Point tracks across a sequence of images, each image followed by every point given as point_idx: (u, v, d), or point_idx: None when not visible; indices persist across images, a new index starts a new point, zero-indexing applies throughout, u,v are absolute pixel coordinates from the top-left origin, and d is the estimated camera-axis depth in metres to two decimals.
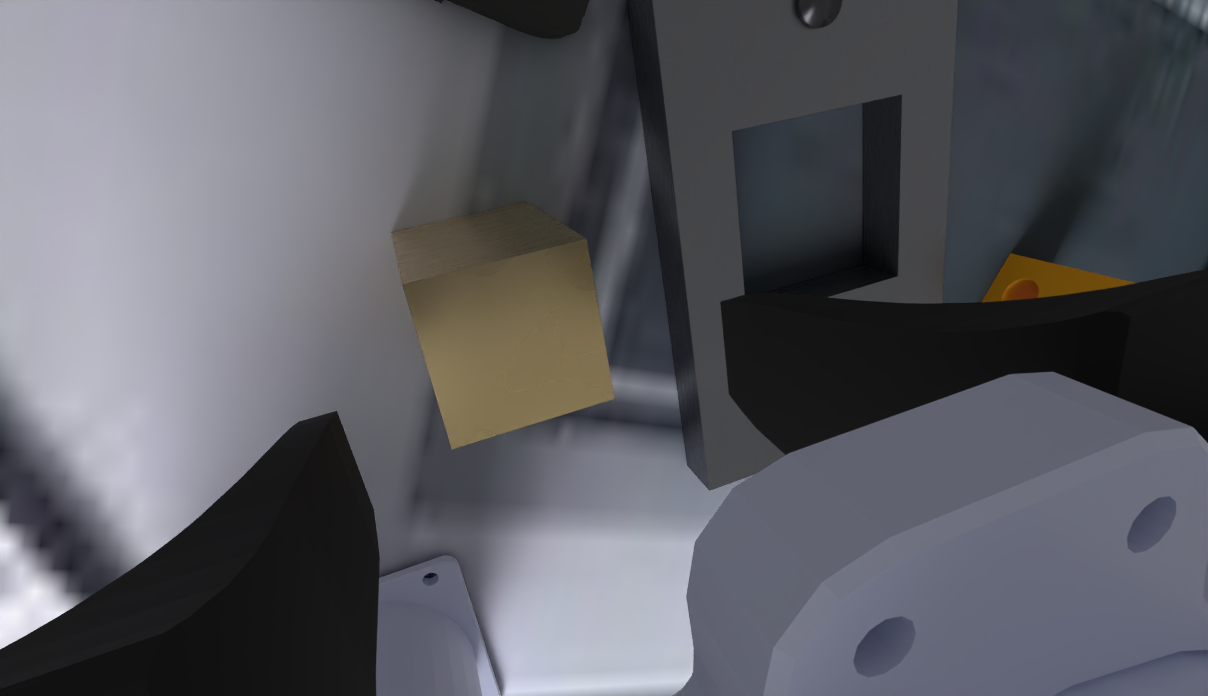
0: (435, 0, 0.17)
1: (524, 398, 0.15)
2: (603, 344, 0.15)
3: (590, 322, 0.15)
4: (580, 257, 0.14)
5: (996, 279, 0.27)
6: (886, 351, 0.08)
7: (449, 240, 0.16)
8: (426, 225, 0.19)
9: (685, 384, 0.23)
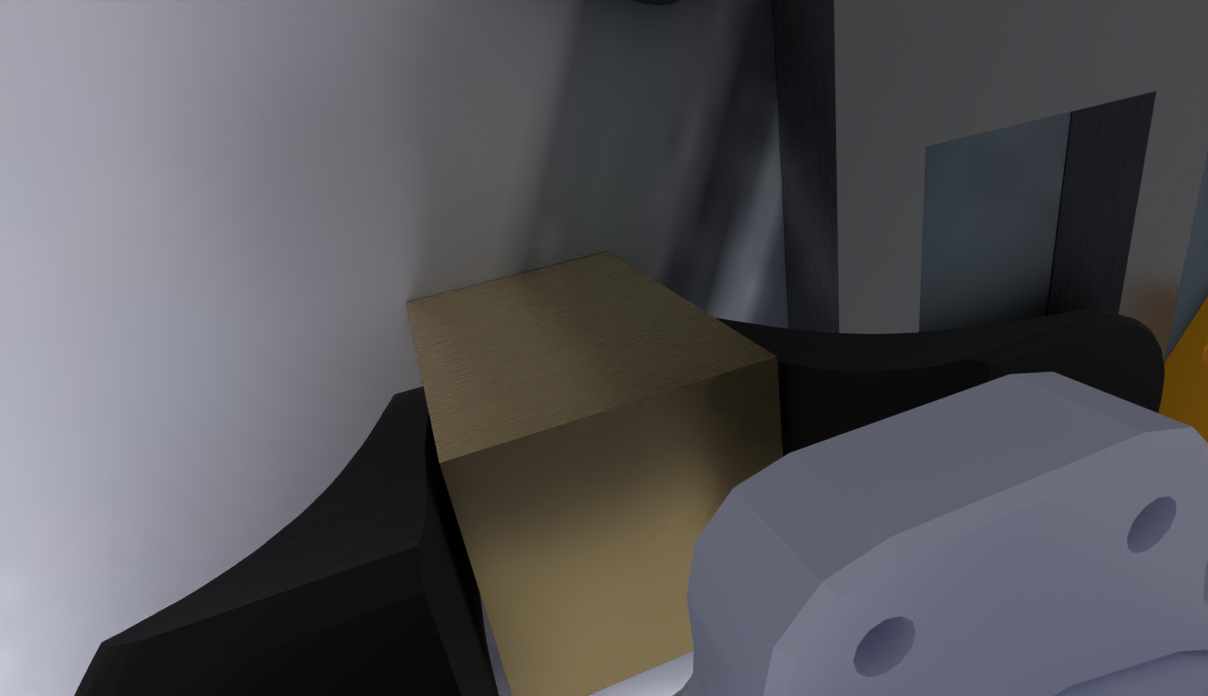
0: None
1: (647, 627, 0.08)
2: None
3: None
4: (764, 389, 0.08)
5: (1190, 329, 0.20)
6: (783, 385, 0.08)
7: (506, 333, 0.10)
8: (460, 292, 0.12)
9: None
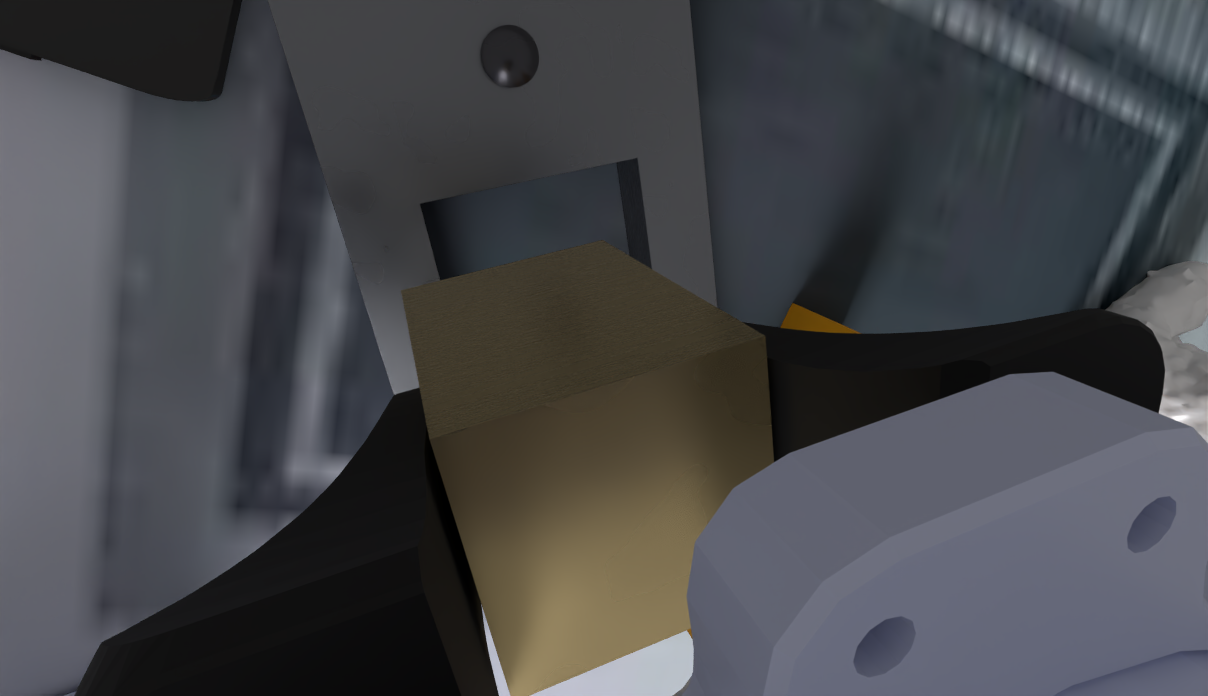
0: None
1: (638, 606, 0.09)
2: None
3: None
4: (753, 368, 0.08)
5: None
6: (783, 385, 0.08)
7: (499, 317, 0.10)
8: (454, 279, 0.12)
9: None
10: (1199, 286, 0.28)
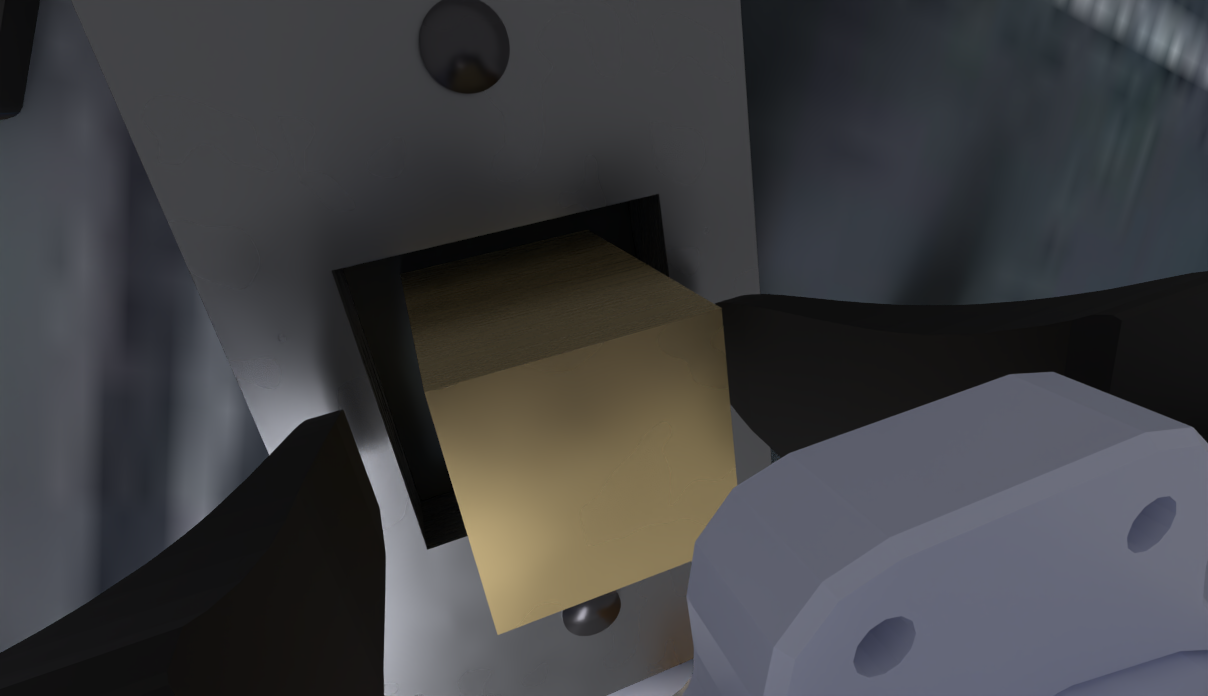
0: None
1: (611, 552, 0.10)
2: (731, 463, 0.10)
3: (716, 434, 0.10)
4: (710, 336, 0.09)
5: None
6: (879, 354, 0.08)
7: (489, 295, 0.11)
8: (449, 264, 0.13)
9: None
10: None
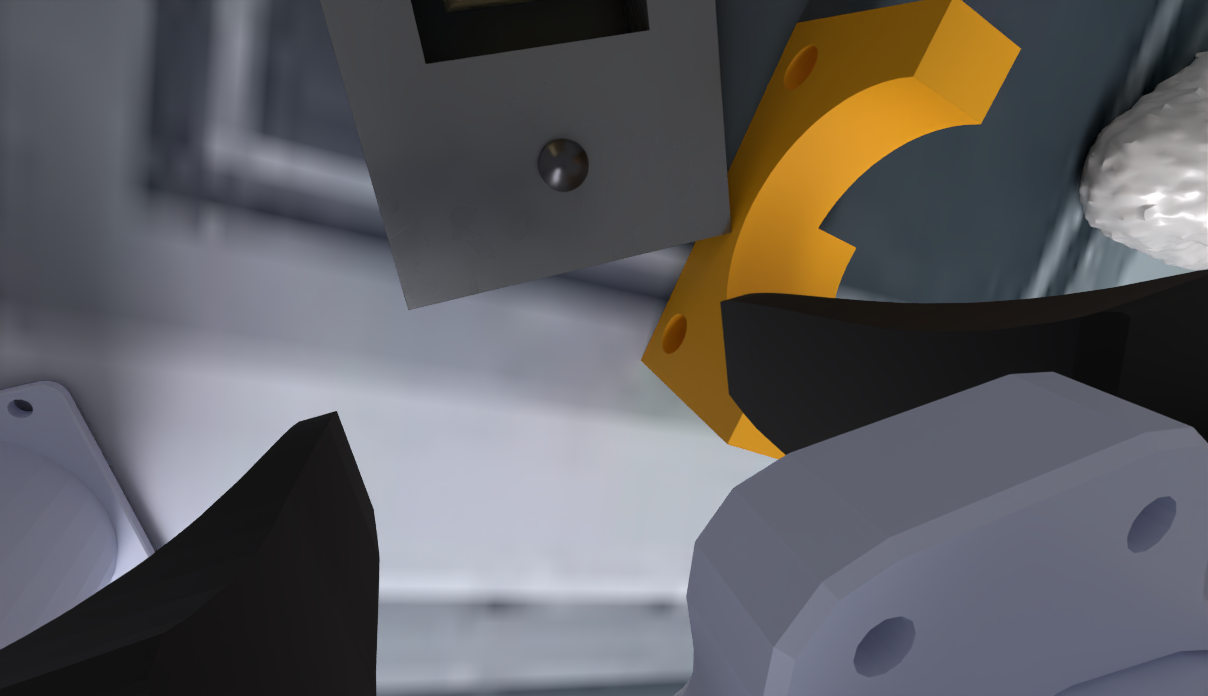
0: None
1: None
2: None
3: None
4: None
5: (781, 58, 0.21)
6: (885, 352, 0.08)
7: None
8: None
9: None
10: None
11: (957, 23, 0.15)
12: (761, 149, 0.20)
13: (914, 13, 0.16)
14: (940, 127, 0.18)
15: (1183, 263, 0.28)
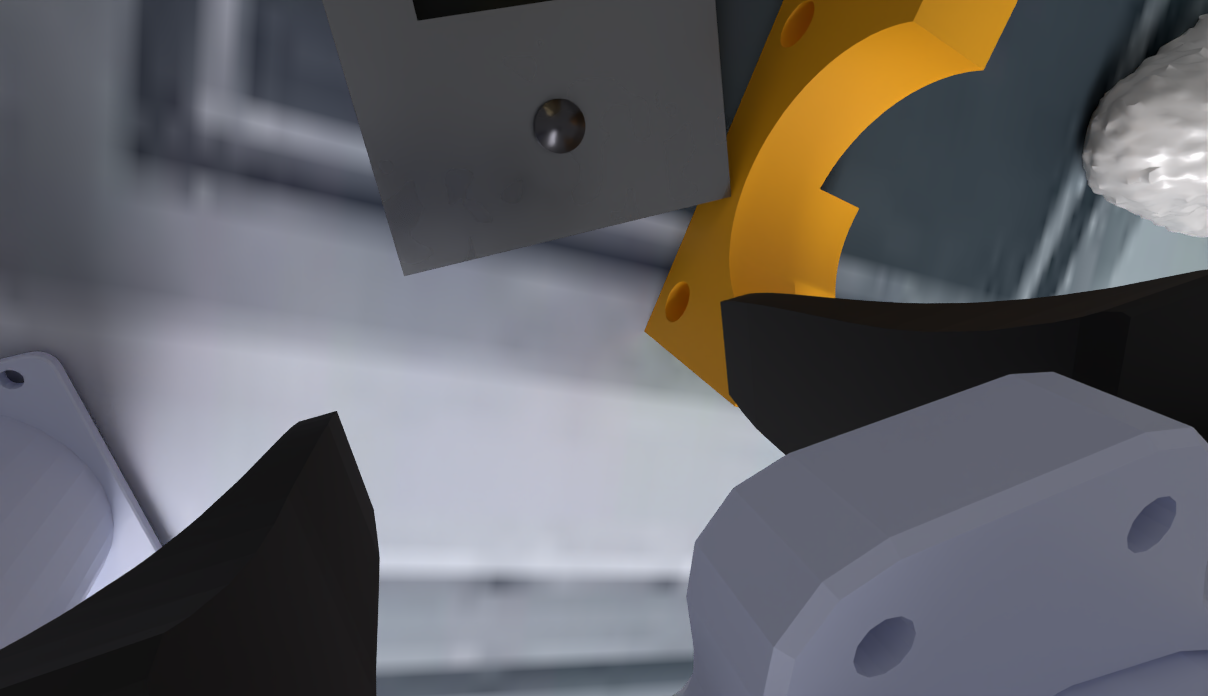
0: None
1: None
2: None
3: None
4: None
5: (777, 17, 0.20)
6: (885, 352, 0.08)
7: None
8: None
9: None
10: None
11: None
12: (759, 110, 0.20)
13: None
14: (941, 76, 0.17)
15: (1188, 230, 0.28)
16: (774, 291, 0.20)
